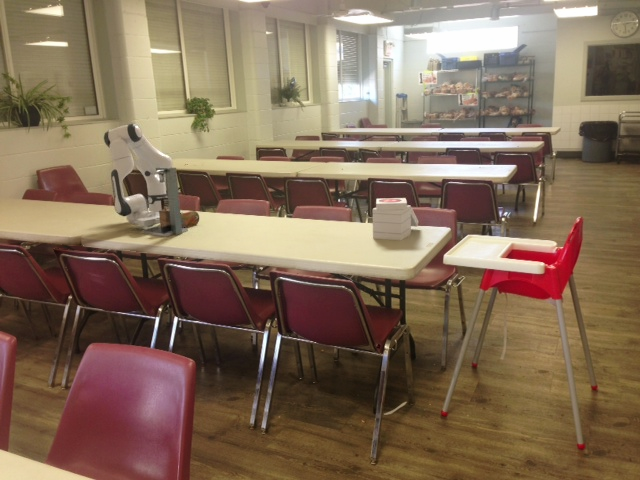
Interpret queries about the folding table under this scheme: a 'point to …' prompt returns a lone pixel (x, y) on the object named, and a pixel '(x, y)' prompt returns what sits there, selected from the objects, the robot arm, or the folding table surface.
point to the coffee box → (164, 202)
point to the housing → (164, 217)
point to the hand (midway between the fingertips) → (163, 221)
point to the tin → (189, 218)
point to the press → (173, 203)
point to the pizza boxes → (393, 219)
